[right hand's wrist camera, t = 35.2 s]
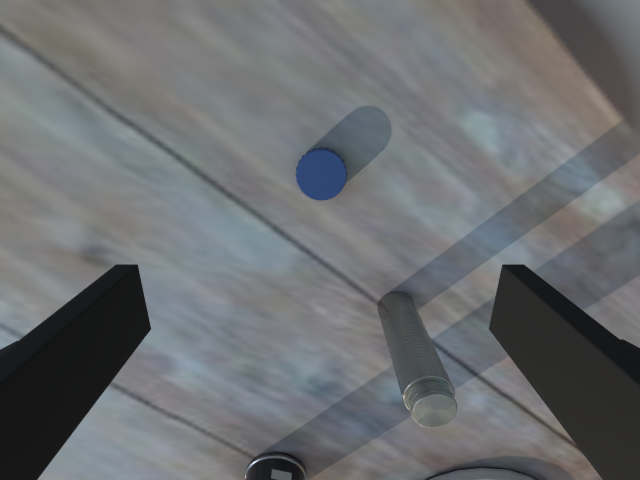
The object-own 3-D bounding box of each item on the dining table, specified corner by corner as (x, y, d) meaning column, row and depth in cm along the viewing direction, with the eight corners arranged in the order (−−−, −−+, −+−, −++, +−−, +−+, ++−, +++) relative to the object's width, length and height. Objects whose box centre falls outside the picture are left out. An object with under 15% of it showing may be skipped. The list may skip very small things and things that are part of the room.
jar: (420, 300, 44) (472, 402, 29) (401, 327, 45) (442, 437, 30) (389, 286, 43) (426, 383, 28) (371, 314, 44) (397, 420, 29)
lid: (315, 137, 36) (315, 138, 35) (355, 167, 38) (357, 170, 36) (287, 178, 38) (285, 181, 36) (326, 205, 39) (326, 210, 37)
